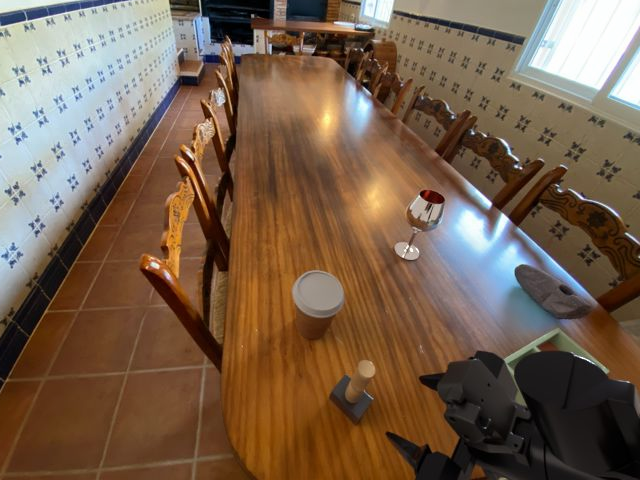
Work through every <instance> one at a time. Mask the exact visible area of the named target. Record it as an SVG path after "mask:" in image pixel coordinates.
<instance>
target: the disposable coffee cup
mask: <svg viewBox="0 0 640 480" xmlns="http://www.w3.org/2000/svg"><path fill="white" fill-rule="evenodd" d="M291 293H292V295H291V296H292V299H293V302H294V308H295V309H294V310H295V311H294V312H295V323H296V324H295V325H296V329H297V331H298V333H299V334H300V335H301V336H302V337H304V338H306V339H308V340H319V339H320V338H321V339H322V337H324V336H325V334H326V332H327V331H328V329H329V327H330V326H331V324H332V322H333V320H334V318H335V317H336V315H337V313H339V312H340V311H341V310H342V309H343V307H344V304H345V301H346V295H345V289H344V288H343V285H342V283H341V282H340V280H339V279H338V278H337V277H336V276H335V275H334V274H332V273H329V272H328V271H324V270H317V269H313V270H309V271H306V272H304V273H302V275H300V276H299V277H298V278H297V279H296V281H295V282H294V284H293V286H292V291H291Z"/></svg>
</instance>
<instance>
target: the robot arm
mask: <svg viewBox="0 0 640 480" xmlns="http://www.w3.org/2000/svg"><path fill="white" fill-rule="evenodd" d="M503 359H504V358H502V357H501V356H499V355H498V354H497V353H495V352H492V351H485V350H484V351H483V350H479V349H478V350H476V352H475V354H474V356H472V355H471V356H468V358H467V359H464V360H455V361H450V362H448V364H447V367H446V368H447V369H446V370H445V372H439V373H438V372H437V373H430V374H423V375H419V377H418V380H419V382H420V384H421V385H422V386H425V387H427V388H429V389H431V390H432V391H434V392H437V395H438V397H439V399H440V400H441V401H442V402H443V403H444V404H445V405H446V408H445V411H444V413H443V419H444V420H445V421H446V423H447V424H448V425H449V427H450V428H451V429H452V430H453V431H454V433H455V434H456V435H457V437H459V438H458V440H457V442H456V445H455V447H454V449H453V452H452V454H451V455H450V456H449V455H447V454H445V453H443V452H440V451H439V450H436V451H433V450H432V449H431V447H430V445H429V443H425V444H422V445H421V446H420V445H418V444H416V443H415V442H411V440H408V439H407V438H404V437H402V436H400V435H399V434H397V433H394V432H392V431H388V430H386V431H385V433H384V435H385V436H386V437H385V438H387V440H388V442H389V443H390V444H391V445H392V446H393V448H394V449H395V450H396V451H397V452H398V453H399V455H400V456H401V457H402V458H403V459H404V460H405V462H406V463H407V464H408V465H409V466H410V467H411V468H412V470H413V472H414V473H413V474H414V476H415V478H414V480H471V478H472V475H473V471H474V469H475V467H476V466H477V467H479V468H481V470H482V472H483V474H484V476H485V478H486V479H488V480H499V479H500V477H501V478H503V479H506V480H640V395H639V392H638V390H637V387H636V385H635V384H634V383H632V382H631V381H626V380H620V379H614V378H610V377H609V376H608V374H606V373H605V372H604V371H603V370H602V369H601V368H600V367H598V366H597V365H596V364H594V363H593V362H591V361H589V360H587V359H585V358H582V357H579V356H576V355H574V354H573V353H571V352H566V351H556V350H549V351H540V352H536V353H532V354H530V355H527V356H525V357H524V358H523V359H521V360H520V361H519V362H518V363H517V365H516V366H515V369H514V378H515V381H516V383H517V386H518V388H519V390H520V392H521V394H522V396H523V399H524V401H525V403H526V405H527V406H524V405H521V404H518V403H517V402H516V401H515V398H516V395H517V392H518V389H517V387H516V385H515V382H514V380H513V378H512V376H511V374H510V371H509V369H508V367H507V365H506V363H505V361H504V360H503Z"/></svg>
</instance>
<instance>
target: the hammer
mask: <svg viewBox="0 0 640 480" xmlns="http://www.w3.org/2000/svg"><path fill="white" fill-rule="evenodd" d="M375 374H376V368H375V365H374V364H373V363H372V361H370V360H367V359H362V360H360V361H359V362H358V364H357V366H356V368H355V371H354V372H353V374H352V376H351V377H350V376H349V375H348V374H347V373H345V374H344V375H343V376H342V378H341V379H340V380H339V381H338V382H337V384H336V385H335V386H334V387H333V388H332V390H331V391H330V393H329V397H328V399H329V400H330V401H331V402H332V403H333V404H334V405H335V406H336V408H338V409H339V410H340V411H341V412H342V413H343V414H344V415H345V416H346V418H347V419H349V421H351V422H352V423H353V424H354V425H357V424H358V423H359V421H360V419H361V418H362V417H363V415H364V414H365V412H366V411H367V410H368V407H370V405H371V404H372V402H373V401H374V398H373V397H371V396H370V395H369V394H368V393H367V392H366V390H367V388H368V386H369V384H370V382H371V381H372V379H373V378H374V376H375Z"/></svg>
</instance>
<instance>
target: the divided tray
mask: <svg viewBox="0 0 640 480" xmlns="http://www.w3.org/2000/svg"><path fill="white" fill-rule="evenodd" d="M549 350H556V351H566V352H571V353H573V354H574V355H576V356H579V357H582V358H585V359H587V360H589V361H591V362H593V363H594V364H596V365H597V366H598V367H600V368H601V369H602V370H603V371H604V372H605V373H606V375H608V374H609V373H610V370H609V369H608V368H606V367H605V366H604V365H603V364H602V363H601V362H599V361H598V359H596V358H595V357H594V356H592V355H591V354H590V353H589V352H588V351H586V350H585V349H584V348H583V347H582V346H580V345H579V344H578V343H577V342H576V341H575V340H574V339H572V338H571V337H570V336H569V335H567V334H566V333H565V332H563V330H561V329H560V328H559V327H556V328H553V329H552V330H551V331H549V332H547V333H546V334H544V335H542V336H541V337H539V338H537V339H535V340H534V341H532V342H530V343H529V344H527V345H525V346H523V347H522V348H520V349H519V350H517V351H515V352H513V353H512V354H510V355H509V356H507V357H505V358H502V359H503V360H504V361H505V363H506V365H507V367H508V369H509V371H510V374H511V376H512V378H513V380H514V382H515V385H516V387H517V389H518V392H517V395H516V398H515V402H517V403H518V404H521V405H524V406H527V405H526V403H525V401H524V399H523V396H522V394H521V392H520V390H519V388H518V386H517V383H516V381H515V378H514V369H515V366H516V365H517V363H518V362H519V361H520V360H521V359H523V358H524V357H525V356H527V355H530V354H532V353H536V352H540V351H549Z"/></svg>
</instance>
